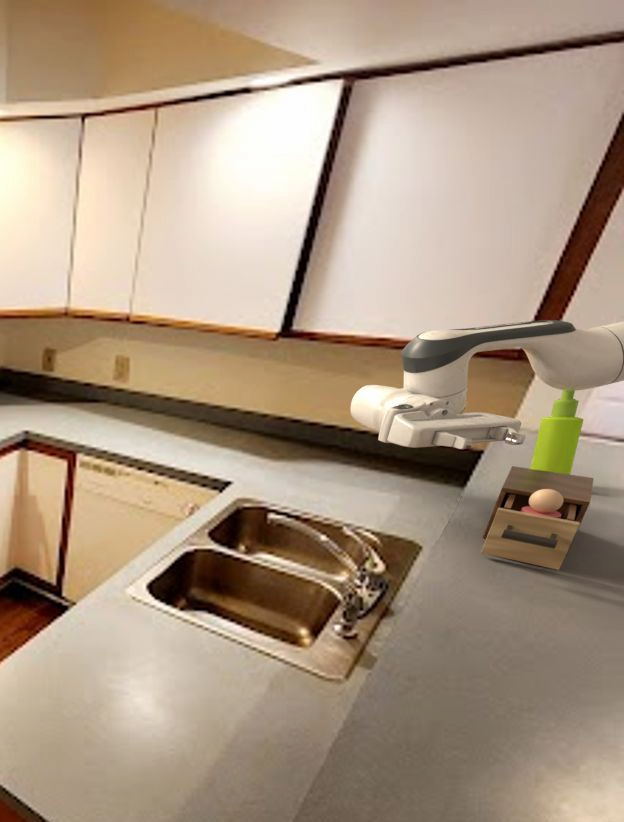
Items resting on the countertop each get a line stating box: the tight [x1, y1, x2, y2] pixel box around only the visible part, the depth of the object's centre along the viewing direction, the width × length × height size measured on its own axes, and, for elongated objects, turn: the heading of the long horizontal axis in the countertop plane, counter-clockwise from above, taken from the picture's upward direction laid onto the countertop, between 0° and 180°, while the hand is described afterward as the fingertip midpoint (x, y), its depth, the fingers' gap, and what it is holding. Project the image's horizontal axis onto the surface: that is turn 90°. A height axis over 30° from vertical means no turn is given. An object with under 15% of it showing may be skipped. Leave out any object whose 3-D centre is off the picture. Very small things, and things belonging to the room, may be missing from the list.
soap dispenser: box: [529, 390, 584, 475], centre depth 125 cm, size 6×7×20 cm
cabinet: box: [482, 466, 594, 556], centre depth 107 cm, size 14×10×9 cm
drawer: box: [480, 493, 581, 571], centre depth 100 cm, size 18×9×8 cm, turn 134°
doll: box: [521, 489, 563, 519], centre depth 99 cm, size 5×5×10 cm
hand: (494, 442), depth 104 cm, fingers open, 8 cm apart
